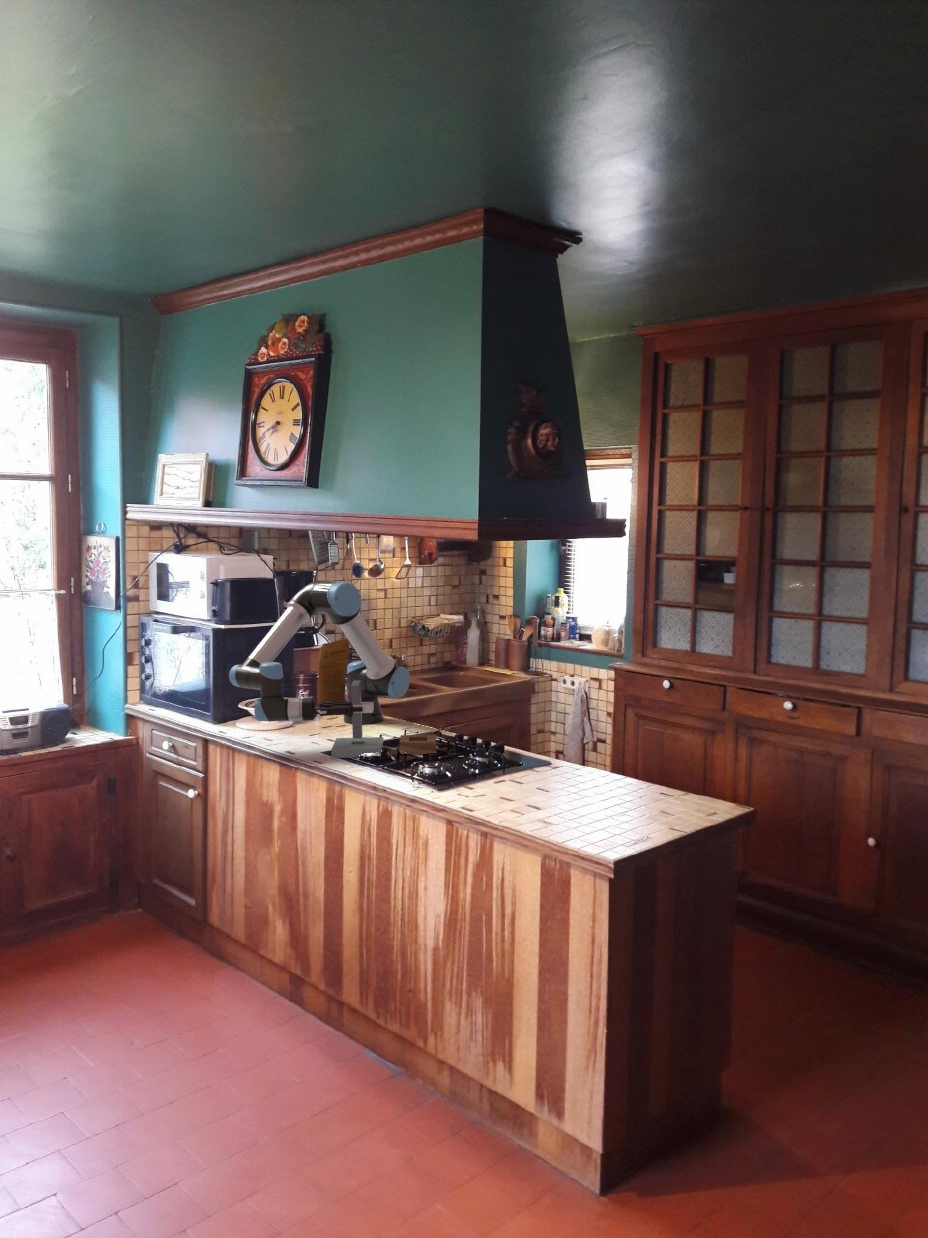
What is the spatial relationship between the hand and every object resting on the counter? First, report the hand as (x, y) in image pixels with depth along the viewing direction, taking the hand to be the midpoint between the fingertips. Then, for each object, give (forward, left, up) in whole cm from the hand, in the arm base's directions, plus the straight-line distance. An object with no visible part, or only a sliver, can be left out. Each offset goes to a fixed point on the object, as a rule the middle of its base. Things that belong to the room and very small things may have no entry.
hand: (373, 707), depth 330 cm
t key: (0, -5, -10) cm, 11 cm away
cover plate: (0, -5, -15) cm, 16 cm away
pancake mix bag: (-79, -21, -15) cm, 83 cm away
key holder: (0, +15, -15) cm, 21 cm away
